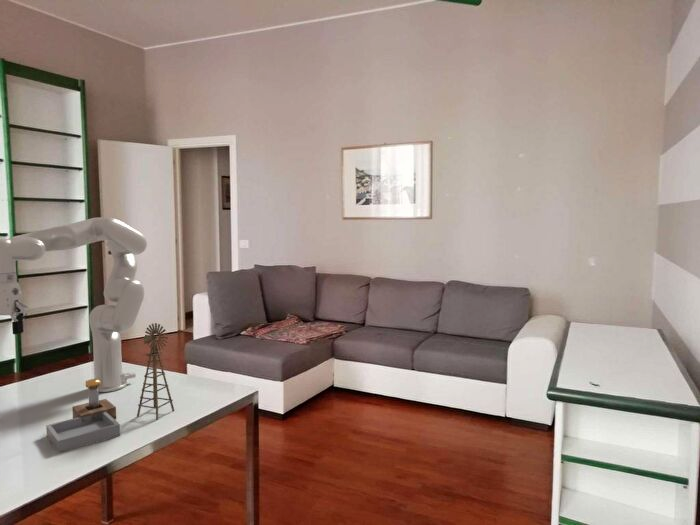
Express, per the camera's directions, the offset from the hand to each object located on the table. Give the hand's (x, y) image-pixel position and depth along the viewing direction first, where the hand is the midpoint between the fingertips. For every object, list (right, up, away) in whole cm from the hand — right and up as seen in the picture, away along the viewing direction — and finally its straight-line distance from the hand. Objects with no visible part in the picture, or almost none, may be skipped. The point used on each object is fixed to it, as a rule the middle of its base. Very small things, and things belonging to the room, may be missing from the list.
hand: (5, 332), depth 151 cm
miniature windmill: (+44, -28, +7) cm, 53 cm away
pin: (+26, -28, +3) cm, 39 cm away
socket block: (+26, -28, +3) cm, 39 cm away
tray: (+30, -29, -9) cm, 43 cm away
